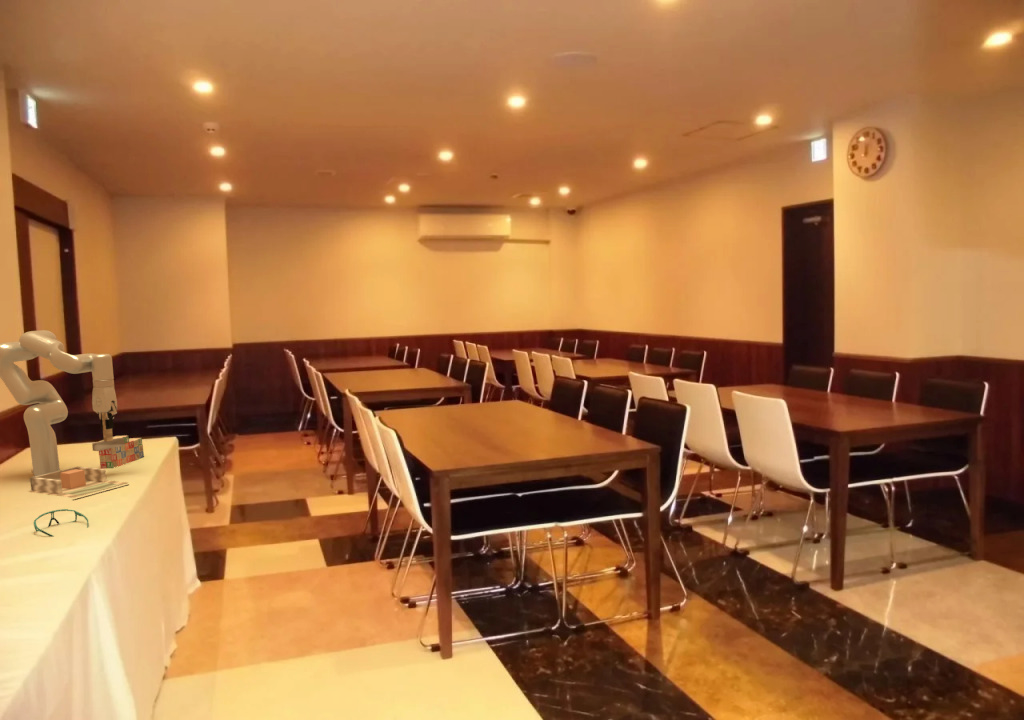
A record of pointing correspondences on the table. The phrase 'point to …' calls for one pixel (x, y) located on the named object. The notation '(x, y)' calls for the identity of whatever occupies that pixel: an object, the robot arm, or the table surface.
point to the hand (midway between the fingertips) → (107, 428)
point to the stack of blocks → (122, 453)
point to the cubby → (54, 487)
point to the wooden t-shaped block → (107, 438)
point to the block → (73, 479)
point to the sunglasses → (56, 520)
